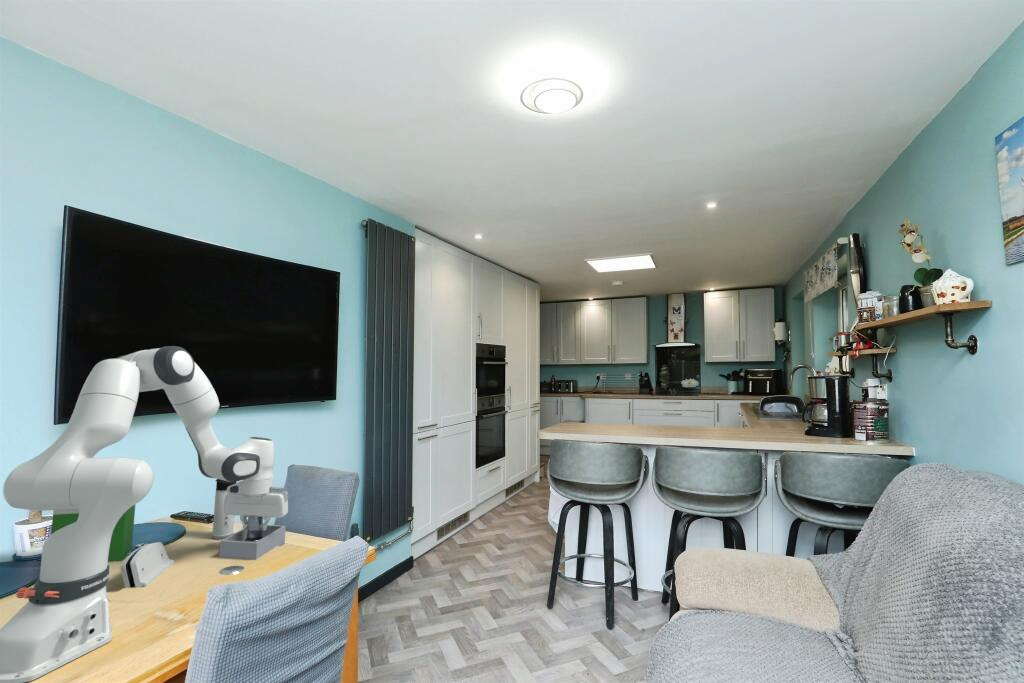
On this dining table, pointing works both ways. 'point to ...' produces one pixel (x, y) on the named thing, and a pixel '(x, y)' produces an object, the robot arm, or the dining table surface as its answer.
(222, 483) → the travel mug
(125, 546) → the hardback book
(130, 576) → the white curved housing
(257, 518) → the grey knob
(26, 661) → the robot arm
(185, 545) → the dining table surface
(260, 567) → the dining table surface
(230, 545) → the bin
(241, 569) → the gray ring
